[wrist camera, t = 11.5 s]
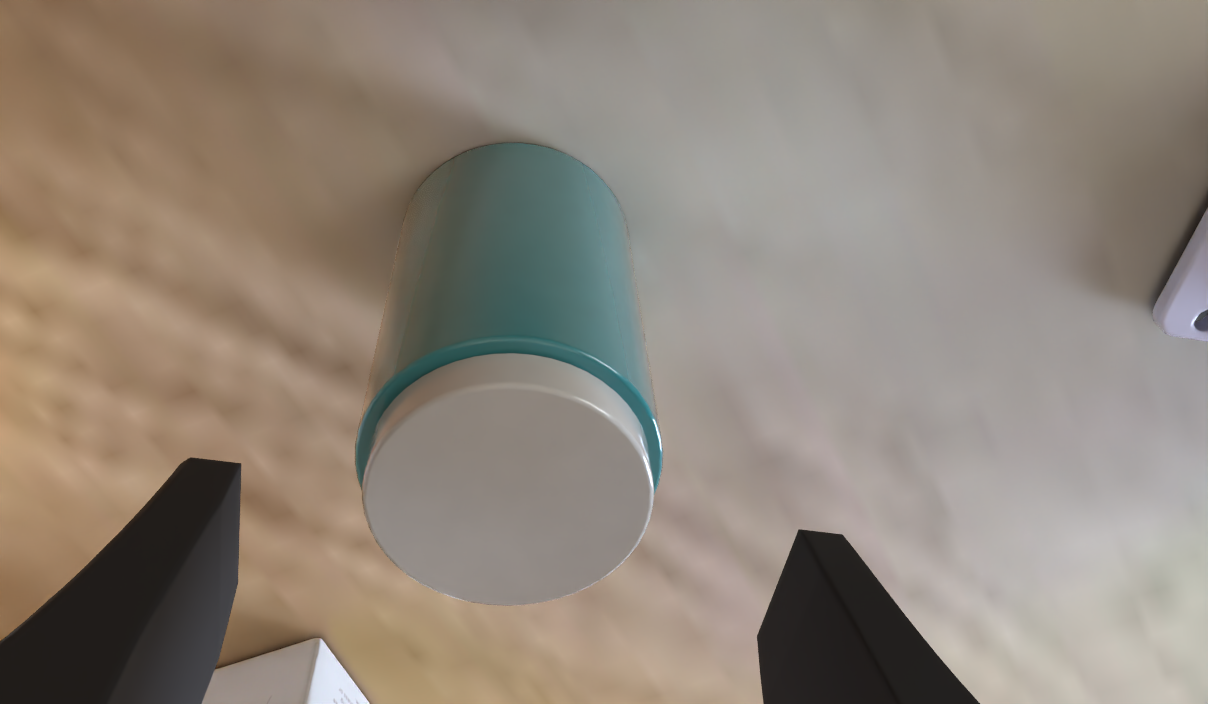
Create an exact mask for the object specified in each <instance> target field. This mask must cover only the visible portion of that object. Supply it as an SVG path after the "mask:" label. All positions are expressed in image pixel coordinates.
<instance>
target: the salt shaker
mask: <svg viewBox="0 0 1208 704" xmlns="http://www.w3.org/2000/svg"><path fill="white" fill-rule="evenodd" d="M662 461H663V448H662V441H661V433H660V427H659V421H658V415H657V409H656V402H655V396H654V390H653V384H652V377H651V371H650V365H649V359H648V353H647V346H646V340H645V334H644V328H643V321H642V315H641V309H640V303H639V297H638V290H637V284H636V278H635V272H634V265H633V259H632V253H631V247H630V241H629V234H628V228H627V224H626V221H625V217H624V214H623V212H622V209H621V207H620V205H619V203H618V201H617V199H616V198H615V196H614V195H613V193H612V191H611V190H610V189H609V187H608V186H607V185H606V184H605V183H604V181H603V180H602V179H601V178H600V177H599V176H598V175H596V174H595V173H594V172H593V171H592V170H591V169H590V168H588V167H587V166H585V165H584V164H582V163H581V162H580V161H578V160H576V159H574V158H572V157H570V156H568V155H566V154H565V153H562V152H559V151H556V150H554V149H551V148H547V147H543V146H539V145H534V144H525V143H501V144H494V145H487V146H483V147H480V148H476V149H472V150H470V151H468V152H465V153H463V154H460V155H458V156H456V157H455V158H453V159H451V160H449V161H448V162H446V163H444V164H443V165H442V166H441V167H439V168H438V169H437V170H435V171H434V172H433V173H432V174H431V175H430V176H429V177H428V178H427V179H426V180H425V181H424V182H423V183H422V185H421V186H420V187H419V189H418V190H417V192H416V193H415V194H414V196H413V198H412V200H411V202H410V204H409V206H408V208H407V211H406V214H405V217H404V220H403V225H402V229H401V234H400V239H399V243H398V248H397V252H396V257H395V262H394V266H393V271H392V275H391V280H390V285H389V289H388V294H387V298H386V303H385V308H384V312H383V317H382V322H381V326H380V331H379V335H378V340H377V345H376V349H375V354H374V358H373V363H372V368H371V372H370V377H369V382H368V386H367V391H366V395H365V400H364V405H363V409H362V414H361V418H360V423H359V428H358V433H357V438H356V444H355V466H356V472H357V478H358V481H359V484H360V487H361V490H362V501H363V508H364V514H365V517H366V520H367V523H368V526H369V528H370V530H371V532H372V534H373V536H374V538H375V540H376V542H377V543H378V545H379V546H380V548H381V549H382V550H383V552H384V553H385V554H386V556H387V557H388V558H389V559H390V560H391V561H392V562H393V563H394V564H395V565H396V566H397V567H398V568H400V569H401V570H402V571H403V572H405V573H406V574H407V575H408V576H410V577H411V578H413V579H414V580H416V581H418V582H419V583H421V584H422V585H424V586H426V587H428V588H431V589H433V590H435V591H437V592H439V593H442V594H445V595H447V596H450V597H453V598H456V599H460V600H464V601H468V602H473V603H480V604H486V605H501V606H515V605H529V604H536V603H543V602H547V601H552V600H556V599H560V598H563V597H566V596H569V595H572V594H574V593H577V592H579V591H581V590H583V589H586V588H588V587H590V586H592V585H593V584H595V583H597V582H598V581H600V580H602V579H603V578H605V577H606V576H607V575H609V574H610V573H611V572H613V571H614V570H615V569H617V568H618V567H619V566H620V565H621V564H622V563H623V562H624V561H625V560H626V559H627V558H628V557H629V555H630V554H631V553H632V552H633V550H634V549H635V548H636V546H637V545H638V543H639V541H640V540H641V538H642V536H643V534H644V533H645V531H646V528H647V525H648V523H649V520H650V517H651V513H652V508H653V503H654V494H655V492H656V489H657V487H658V484H659V480H660V476H661V471H662Z"/></svg>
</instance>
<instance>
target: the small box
mask: <svg viewBox="0 0 1208 704" xmlns="http://www.w3.org/2000/svg"><path fill="white" fill-rule="evenodd" d="M202 704H370V703H369V702H368V700H367V699H366V698H365V696H364V695H363V694H362V692H361V691H360V690H359V688H358V687H357V686H356V684H355V683H354V682H353V680H352V679H351V678H350V676H349V675H348V674H347V672H346V671H345V670H344V668H343V667H342V666H341V664H340V663H339V662H338V660H337V659H336V658H335V656H334V655H333V653H332V652H331V651H330V649H329V648H328V647H327V645H326V644H325V642H324V641H323V640H322V639H321V638H313V639H310V640H307V641H304V642H301V643H298V644H295V645H292V646H288V647H285V648H282V649H279V650H276V651H273V652H270V653H266V654H263V655H260V656H257V657H254V658H250V659H247V660H244V661H241V662H238V663H235V664H231V665H228V666H225V667H222V668H219V669H215V670H214V672H213V675H212V678H211V680H210V683H209V686H208V688H207V691H206V694H205V696H204V699H203V701H202Z"/></svg>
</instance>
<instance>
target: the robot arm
mask: <svg viewBox="0 0 1208 704" xmlns="http://www.w3.org/2000/svg"><path fill="white" fill-rule="evenodd" d="M1206 310H1208V208H1207V210H1206V211H1205V213H1204V215H1203V217H1202V219H1201V221H1200V222H1199V224H1198V226H1197V228H1196V230H1195V232H1194V234H1193V235H1192V237H1191V239H1190V241H1189V243H1188V245H1187V247H1186V248H1185V250H1184V252H1183V254H1182V256H1181V258H1180V259H1179V261H1178V263H1177V265H1176V267H1175V269H1174V271H1173V272H1172V274H1171V276H1170V278H1169V280H1168V282H1167V283H1166V285H1165V287H1164V289H1163V291H1162V293H1161V295H1160V296H1159V298H1158V300H1157V302H1156V304H1155V306H1154V309H1153V312H1152V314H1153V320H1154V321H1155V323H1156V324H1157V325H1158V326H1159V327H1160V328H1161V329H1162V331H1163V332H1164V333H1165V334H1168V335H1171V336H1174V337H1181V338H1187V339H1194V340H1201V341H1207V342H1208V314H1207V315H1206V316H1205V317H1204V318H1202V319H1200V320H1198V321H1195V319H1196V317H1197V316H1198V315H1199V314H1200V313H1202V312H1204V311H1206ZM240 490H241V463H233V462H224V461H216V460H207V459H199V458H189V459H187V460H186V461H184V462H183V463H181V464H180V465H179V466H178V468H177V469H176V470H175V471H174V472H173V474H172V475H171V476H170V477H169V478H168V480H167V481H166V482H165V483H164V484H163V485H162V487H161V488H160V489H159V490H158V491H157V492H156V493H155V495H154V496H153V497H152V498H151V499H150V500H149V501H148V502H147V504H146V505H145V506H144V507H143V508H142V509H141V510H140V511H139V512H138V513H137V514H136V515H135V517H134V518H133V519H132V520H131V521H130V522H129V523H128V524H127V525H126V526H125V527H124V528H123V529H122V530H121V531H120V532H119V533H118V534H117V535H116V536H115V537H114V538H113V539H112V540H111V541H110V542H109V543H108V544H107V545H106V546H105V547H104V548H103V549H102V550H101V551H100V552H99V553H98V554H97V555H96V556H95V557H94V558H93V559H92V560H91V561H90V562H89V563H88V564H87V565H86V566H85V567H84V568H83V569H82V570H81V571H80V572H79V573H78V574H77V575H76V576H75V577H74V578H73V579H72V580H71V581H70V582H68V583H67V584H66V585H65V586H64V587H63V588H62V589H61V590H59V591H58V592H57V593H56V594H55V595H54V596H53V597H52V598H50V599H49V600H48V601H47V602H46V603H45V604H44V605H43V606H41V607H40V608H39V609H38V610H37V611H36V612H35V613H34V614H33V615H31V616H30V617H29V618H28V619H27V620H26V621H25V622H23V623H22V624H21V625H20V626H19V627H17V628H16V629H15V630H14V631H13V632H11V633H10V634H9V635H8V636H6V637H5V638H4V639H3V640H2V641H0V704H202V701H203V699H204V696H205V694H206V691H207V688H208V686H209V683H210V680H211V678H212V675H213V672H214V670H215V667H216V664H217V662H218V659H219V656H220V652H221V648H222V644H223V640H224V636H225V633H226V629H227V625H228V621H229V617H230V613H231V609H232V605H233V601H234V597H235V593H236V589H237V585H238V561H239V525H240ZM757 641H758V652H759V664H760V675H761V684H762V693H763V702H764V704H980V703H979V702H978V701H977V700H976V699H975V698H974V697H973V695H972V694H971V693H970V692H969V691H968V690H967V689H966V688H965V687H964V686H963V684H962V683H961V682H960V681H959V680H958V679H957V678H956V676H955V675H954V674H953V673H952V672H951V671H950V669H949V668H948V667H947V666H946V665H945V664H944V662H943V661H942V660H941V659H940V658H939V656H938V655H937V654H936V653H935V652H934V650H933V649H932V648H931V647H930V646H929V644H928V643H927V642H926V641H925V639H924V638H923V637H922V636H921V634H920V633H919V632H918V631H917V629H916V628H915V627H914V626H913V624H912V623H911V622H910V621H909V619H908V618H907V617H906V616H905V614H904V613H903V612H902V611H901V609H900V608H899V607H898V605H897V604H896V603H895V601H894V600H893V599H892V598H891V596H890V595H889V594H888V592H887V591H886V590H885V589H884V587H883V586H882V585H881V583H880V582H879V581H878V579H877V578H876V577H875V576H874V574H873V573H872V572H871V570H870V569H869V568H868V566H867V565H866V564H865V562H864V561H863V560H862V559H861V557H860V556H859V555H858V553H857V552H856V551H855V550H854V548H853V547H852V546H851V545H850V543H849V542H848V541H847V540H846V538H845V537H844V536H843V535H842V534H833V533H825V532H816V531H808V530H798V533H797V535H796V538H795V541H794V543H793V546H792V548H791V551H790V553H789V556H788V558H787V561H786V564H785V566H784V569H783V571H782V574H781V576H780V579H779V581H778V584H777V587H776V589H775V592H774V594H773V597H772V599H771V602H770V605H769V607H768V610H767V612H766V615H765V617H764V620H763V622H762V625H761V628H760V630H759V633H758V635H757Z"/></svg>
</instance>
